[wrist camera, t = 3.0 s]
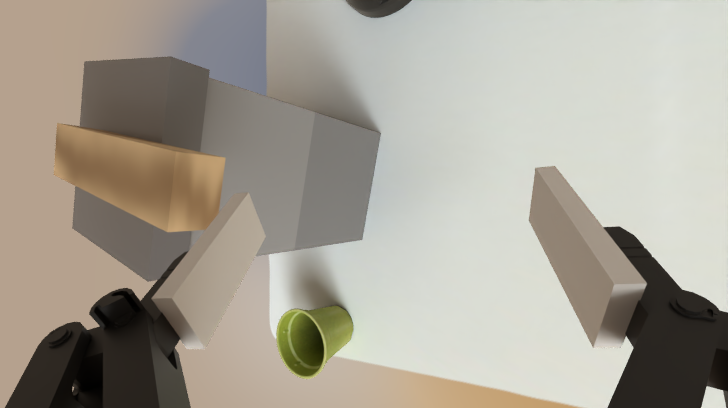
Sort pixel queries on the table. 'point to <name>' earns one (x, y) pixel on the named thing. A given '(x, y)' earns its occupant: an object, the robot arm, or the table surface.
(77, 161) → the oak slat
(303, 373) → the plant pot
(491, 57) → the table surface
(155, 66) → the grey box
